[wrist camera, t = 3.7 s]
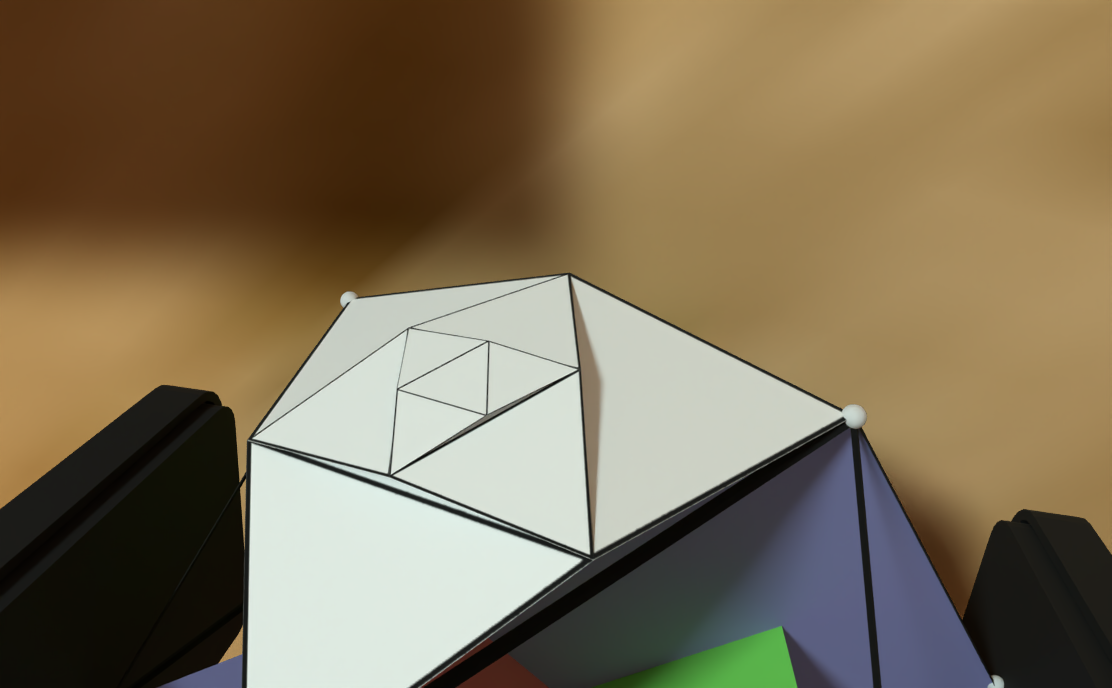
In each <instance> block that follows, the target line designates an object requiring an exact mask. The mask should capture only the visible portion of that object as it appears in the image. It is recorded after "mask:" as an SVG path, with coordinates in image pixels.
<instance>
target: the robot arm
mask: <svg viewBox="0 0 1112 688" xmlns="http://www.w3.org/2000/svg"><path fill="white" fill-rule="evenodd" d="M239 483H240V482H239V468H238V455H237V441H236V427H235V418H234V414H233V412H232V410H231V409H230V408H229V407H225V406H222V404H221V401H220V399H219V397H218V395H217V394H215V393H214V392H211V391H205V390H198V389H191V388H184V387H177V386H170V385H161V386H159V387H157V388H155V389H154V390H153V391H151V392H150V393H149V394H148V395H146V396H145V397H144V398H142V399H141V400H140V401H139V402H137V403H136V404H135V405H133V406H132V407H131V408H130V409H128V410H127V411H126V412H124V413H123V414H122V415H121V416H119V417H118V418H117V419H115V420H114V421H113V422H112V423H110V424H109V425H108V426H106V427H105V428H104V429H103V430H101V431H100V432H99V433H97V434H96V435H95V436H94V437H92V438H91V439H90V440H88V441H87V442H86V443H85V444H83V445H82V446H81V447H79V448H78V449H77V450H76V451H74V452H73V453H72V454H70V455H69V456H68V457H67V458H65V459H64V460H63V461H62V462H60V463H59V464H58V465H56V466H55V467H54V468H53V469H51V470H50V471H49V472H47V473H46V474H45V475H44V476H42V477H41V478H40V479H38V480H37V481H36V482H35V483H33V484H32V485H31V486H29V487H28V488H27V489H26V490H24V491H23V492H22V493H20V494H19V495H18V496H17V497H15V498H14V499H13V500H11V501H10V502H9V503H8V504H6V505H5V506H4V507H2V508H1V509H0V688H117V686H118V684H119V683H120V681H121V679H122V678H123V676H124V674H125V673H126V671H127V669H128V668H129V666H130V664H131V663H132V661H133V659H134V658H135V656H136V654H137V653H138V651H139V649H140V648H141V646H142V644H143V643H144V641H145V639H146V638H147V636H148V634H149V633H150V631H151V629H152V628H153V626H154V624H155V623H156V621H157V619H158V618H159V616H160V614H161V613H162V611H163V609H164V608H165V606H166V604H167V603H168V601H169V599H170V598H171V596H172V594H173V593H174V591H175V589H176V588H177V586H178V584H179V583H180V581H181V580H182V578H183V576H184V575H185V573H186V571H187V570H188V568H189V566H190V565H191V563H192V561H193V560H194V558H195V556H196V555H197V553H198V551H199V550H200V548H201V546H202V545H203V543H204V541H205V540H206V538H207V536H208V535H209V533H210V531H211V530H212V528H213V526H214V525H215V523H216V521H217V520H218V518H219V516H220V515H221V513H222V511H223V510H224V508H225V506H226V505H227V503H228V501H229V500H230V498H231V496H232V495H233V493H234V491H235V490H236V488H237V486H238V485H239ZM244 557H245V552H244V538H243V524H242V510H241V496H240V489H239V491H238V492H237V494H236V496H235V497H234V499H233V501H232V502H231V504H230V506H229V507H228V509H227V511H226V512H225V514H224V516H223V517H222V519H221V521H220V522H219V524H218V526H217V527H216V529H215V531H214V532H213V534H212V536H211V537H210V539H209V541H208V542H207V544H206V546H205V547H204V549H203V551H202V552H201V554H200V556H199V557H198V559H197V561H196V562H195V564H194V566H193V567H192V569H191V571H190V572H189V574H188V576H187V577H186V579H185V581H184V582H183V584H182V586H181V587H180V589H179V591H178V592H177V594H176V596H175V597H174V599H173V601H172V602H171V604H170V606H169V607H168V609H167V610H166V612H165V614H164V615H163V617H162V619H161V620H160V622H159V624H158V625H157V627H156V629H155V630H154V632H153V634H152V635H151V637H150V639H149V640H148V642H147V644H146V645H145V647H144V649H143V650H142V652H141V654H140V655H139V657H138V659H137V660H136V662H135V664H134V665H133V667H132V669H131V670H130V672H129V674H128V675H127V677H126V679H125V680H124V682H123V684H122V685H121V687H120V688H127V687H129V686H130V685H131V684H133V683H134V682H136V681H137V680H138V679H140V678H141V677H142V676H144V675H145V674H146V673H148V672H149V671H150V670H152V669H153V668H154V667H156V666H157V665H158V664H160V663H161V662H163V661H164V660H165V659H167V658H168V657H169V656H171V655H172V654H173V653H175V652H176V651H177V650H179V649H180V648H181V647H183V646H184V645H185V644H187V643H188V642H190V641H191V640H192V639H194V638H195V637H196V636H198V635H199V634H200V633H202V632H203V631H204V630H206V629H207V628H208V627H210V626H211V625H212V624H214V623H215V622H217V621H218V620H219V619H221V618H222V617H223V616H225V615H226V614H227V613H229V612H230V611H231V610H233V609H234V608H235V607H237V606H238V605H239V604H241V603H242V602H244ZM962 621H963V623H964V625H965V627H966V629H967V631H968V633H969V635H970V636H971V638H972V640H973V642H974V644H975V646H976V648H977V650H978V652H979V654H980V656H981V658H982V659H983V661H984V663H985V665H986V667H987V669H988V671H989V673H990V675H991V676H992V675H997V676H1000V677H1001V678H1002V679H1003V681H1004V688H1112V555H1111V553H1110V552H1109V550H1108V549H1107V548H1106V546H1105V545H1104V543H1103V542H1102V540H1101V539H1100V537H1099V536H1098V534H1097V533H1096V532H1095V530H1094V529H1093V527H1092V526H1091V524H1090V523H1089V522H1088V521H1087V520H1086V519H1084V518H1080V517H1074V516H1067V515H1060V514H1053V513H1046V512H1040V511H1033V510H1026V509H1023V510H1021V511H1019V512H1018V513H1017V514H1016V515H1015V516H1014V518H1013V519H1012V521H1011V522H1010V521H1004V520H1001V521H999V522H997V523H996V525H995V526H994V528H993V530H992V532H991V535H990V538H989V541H988V544H987V547H986V550H985V553H984V556H983V559H982V562H981V565H980V568H979V571H978V574H977V577H976V580H975V583H974V586H973V590H972V593H971V596H970V599H969V602H968V605H967V608H966V611H965V614H964V617H963V620H962ZM242 625H243V611H242V612H241V613H240V614H238V615H237V616H236V617H234V618H233V619H232V620H230V621H229V622H228V623H226V624H225V625H224V626H222V627H221V628H220V629H218V630H217V631H216V632H214V633H213V634H212V635H210V636H209V637H208V638H206V639H205V640H204V641H202V642H201V643H200V644H198V645H197V646H196V647H194V648H193V649H192V650H190V651H189V652H188V653H186V654H185V655H184V656H182V657H181V658H180V659H178V660H177V661H176V662H174V663H173V664H172V665H170V666H169V667H168V668H166V669H165V670H164V671H162V672H161V673H160V674H158V675H157V676H156V677H154V678H153V679H152V680H150V681H149V682H148V683H146V684H145V685H144V686H142V687H141V688H157V687H160V686H162V685H165V684H167V683H170V682H173V681H175V680H178V679H180V678H183V677H185V676H188V675H191V674H193V673H196V672H198V671H201V670H203V669H206V668H209V667H211V666H214V665H216V664H218V663H219V661H220V660H221V658H222V657H223V656H224V654H225V653H226V651H227V650H228V648H229V647H230V645H231V644H232V643H233V641H234V640H235V638H236V637H237V635H238V633H239V632H240V630H241V628H242Z"/></svg>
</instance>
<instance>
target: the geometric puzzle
mask: <svg viewBox="0 0 1112 688" xmlns="http://www.w3.org/2000/svg"><path fill="white" fill-rule="evenodd" d="M340 302H341V305H342V307H343V309H342V311H341V312H340V313H339V315H338V316H337V318H336V319H335V320H334V322H333V323H332V324H331V326H330V327H329V329H328V330H327V331H326V333H325V334H324V335H323V337H322V338H321V340H320V341H319V342H318V344H317V345H316V346H315V348H314V349H313V350H312V352H311V353H310V355H309V356H308V357H307V359H306V360H305V361H304V363H303V364H302V366H301V367H300V368H299V370H298V371H297V372H296V374H295V375H294V377H293V378H292V379H291V381H290V382H289V383H288V385H287V386H286V388H285V389H284V390H283V392H282V393H281V394H280V396H279V397H278V399H277V400H276V401H275V403H274V404H273V405H272V407H271V408H270V410H269V411H268V412H267V414H266V415H265V416H264V418H263V419H262V421H261V422H260V423H259V425H258V426H257V427H256V429H255V430H254V432H253V433H252V434H251V436H250V437H249V438H248V440H247V465H246V473H245V475H244V476H243V478H242V480H241V481H240V483H239V485H238V486H237V488H236V490H235V491H234V493H233V495H232V496H231V498H230V500H229V501H228V503H227V505H226V506H225V508H224V510H223V511H222V513H221V515H220V516H219V518H218V520H217V521H216V523H215V525H214V526H213V528H212V530H211V531H210V533H209V535H208V536H207V538H206V540H205V541H204V543H203V545H202V546H201V548H200V550H199V551H198V553H197V555H196V556H195V558H194V560H193V561H192V563H191V565H190V566H189V568H188V570H187V571H186V573H185V575H184V576H183V578H182V580H181V581H180V583H179V584H178V586H177V588H176V589H175V591H174V593H173V594H172V596H171V598H170V599H169V601H168V603H167V604H166V606H165V608H164V609H163V611H162V613H161V614H160V616H159V618H158V619H157V621H156V623H155V624H154V626H153V628H152V629H151V631H150V633H149V634H148V636H147V638H146V639H145V641H144V643H143V644H142V646H141V648H140V649H139V651H138V653H137V654H136V656H135V658H134V659H133V661H132V663H131V664H130V666H129V668H128V669H127V671H126V673H125V674H124V676H123V678H122V679H121V681H120V683H119V684H118V686H117V688H120V687H121V685H122V684H123V682H124V680H125V679H126V677H127V675H128V674H129V672H130V670H131V669H132V667H133V665H134V664H135V662H136V660H137V659H138V657H139V655H140V654H141V652H142V650H143V649H144V647H145V645H146V644H147V642H148V640H149V639H150V637H151V635H152V634H153V632H154V630H155V629H156V627H157V625H158V624H159V622H160V620H161V619H162V617H163V615H164V614H165V612H166V610H167V609H168V607H169V606H170V604H171V602H172V601H173V599H174V597H175V596H176V594H177V592H178V591H179V589H180V587H181V586H182V584H183V582H184V581H185V579H186V577H187V576H188V574H189V572H190V571H191V569H192V567H193V566H194V564H195V562H196V561H197V559H198V557H199V556H200V554H201V552H202V551H203V549H204V547H205V546H206V544H207V542H208V541H209V539H210V537H211V536H212V534H213V532H214V531H215V529H216V527H217V526H218V524H219V522H220V521H221V519H222V517H223V516H224V514H225V512H226V511H227V509H228V507H229V506H230V504H231V502H232V501H233V499H234V497H235V496H236V494H237V492H238V491H239V489H240V487H241V486H242V484H243V482H244V481H245V479H246V511H245V557H244V602H242V603H241V604H239V605H238V606H237V607H235V608H234V609H233V610H231V611H230V612H229V613H227V614H226V615H225V616H223V617H222V618H221V619H219V620H218V621H217V622H215V623H214V624H212V625H211V626H210V627H208V628H207V629H206V630H204V631H203V632H202V633H200V634H199V635H198V636H196V637H195V638H194V639H192V640H191V641H190V642H188V643H187V644H185V645H184V646H183V647H181V648H180V649H179V650H177V651H176V652H175V653H173V654H172V655H171V656H169V657H168V658H167V659H165V660H164V661H163V662H161V663H160V664H158V665H157V666H156V667H154V668H153V669H152V670H150V671H149V672H148V673H146V674H145V675H144V676H142V677H141V678H140V679H138V680H137V681H136V682H134V683H133V684H131V685H130V686H129V687H127V688H141V687H142V686H144V685H145V684H146V683H148V682H149V681H150V680H152V679H153V678H154V677H156V676H157V675H158V674H160V673H161V672H162V671H164V670H165V669H166V668H168V667H169V666H170V665H172V664H173V663H174V662H176V661H177V660H178V659H180V658H181V657H182V656H184V655H185V654H186V653H188V652H189V651H190V650H192V649H193V648H194V647H196V646H197V645H198V644H200V643H201V642H202V641H204V640H205V639H206V638H208V637H209V636H210V635H212V634H213V633H214V632H216V631H217V630H218V629H220V628H221V627H222V626H224V625H225V624H226V623H228V622H229V621H230V620H232V619H233V618H234V617H236V616H237V615H238V614H240V613H241V612H242V611H243V649H242V655H239V656H237V657H234V658H232V659H229V660H226V661H224V662H221V663H219V664H216V665H214V666H211V667H209V668H206V669H203V670H201V671H198V672H196V673H193V674H191V675H188V676H185V677H183V678H180V679H178V680H175V681H173V682H170V683H167V684H165V685H162V686H160V687H157V688H1004V681H1003V679H1002V678H1001V677H1000V676H997V675H992V676H991V675H990V673H989V671H988V669H987V667H986V665H985V663H984V661H983V659H982V658H981V656H980V654H979V652H978V650H977V648H976V646H975V644H974V642H973V640H972V638H971V636H970V635H969V633H968V631H967V629H966V627H965V625H964V623H963V621H962V619H961V617H960V615H959V613H958V612H957V610H956V608H955V606H954V604H953V602H952V600H951V598H950V596H949V594H948V592H947V590H946V588H945V587H944V585H943V583H942V581H941V579H940V577H939V575H938V573H937V571H936V569H935V567H934V565H933V564H932V562H931V560H930V558H929V556H928V554H927V552H926V550H925V548H924V546H923V544H922V542H921V541H920V539H919V537H918V535H917V533H916V531H915V529H914V527H913V525H912V523H911V521H910V519H909V518H908V516H907V514H906V512H905V510H904V508H903V506H902V504H901V502H900V500H899V498H898V496H897V495H896V493H895V491H894V489H893V487H892V485H891V483H890V481H889V479H888V477H887V475H886V473H885V472H884V470H883V468H882V466H881V464H880V462H879V460H878V458H877V456H876V454H875V452H874V450H873V448H872V447H871V445H870V443H869V441H868V439H867V437H866V435H865V433H864V431H863V429H862V426H863V425H864V424H865V422H866V420H867V414H866V411H865V410H864V409H863V408H862V407H861V406H859V405H856V404H851V405H848V406H846V407H845V408H844V409H841V408H839V407H837V406H835V405H833V404H831V403H829V402H827V401H825V400H823V399H821V398H819V397H817V396H815V395H813V394H811V393H809V392H807V391H805V390H803V389H801V388H799V387H797V386H795V385H793V384H791V383H789V382H787V381H785V380H783V379H781V378H779V377H777V376H775V375H773V374H771V373H769V372H767V371H765V370H763V369H761V368H759V367H757V366H755V365H753V364H751V363H749V362H747V361H745V360H743V359H741V358H739V357H737V356H735V355H733V354H731V353H729V352H727V351H725V350H723V349H721V348H719V347H717V346H715V345H713V344H711V343H709V342H707V341H705V340H703V339H701V338H699V337H697V336H695V335H693V334H691V333H689V332H687V331H685V330H683V329H681V328H679V327H677V326H675V325H673V324H671V323H669V322H667V321H665V320H663V319H661V318H659V317H657V316H655V315H653V314H651V313H649V312H647V311H645V310H643V309H641V308H639V307H637V306H635V305H633V304H631V303H629V302H627V301H625V300H623V299H621V298H619V297H617V296H615V295H613V294H611V293H609V292H607V291H605V290H603V289H601V288H599V287H597V286H595V285H593V284H591V283H589V282H587V281H585V280H583V279H581V278H579V277H577V276H575V275H573V274H571V273H563V274H555V275H546V276H537V277H529V278H520V279H511V280H503V281H494V282H486V283H477V284H468V285H460V286H451V287H442V288H434V289H425V290H417V291H408V292H399V293H391V294H382V295H373V296H365V297H359V296H358V295H357V294H356V293H354V292H346V293H344V294H343V295H342V297H341V300H340Z"/></svg>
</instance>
